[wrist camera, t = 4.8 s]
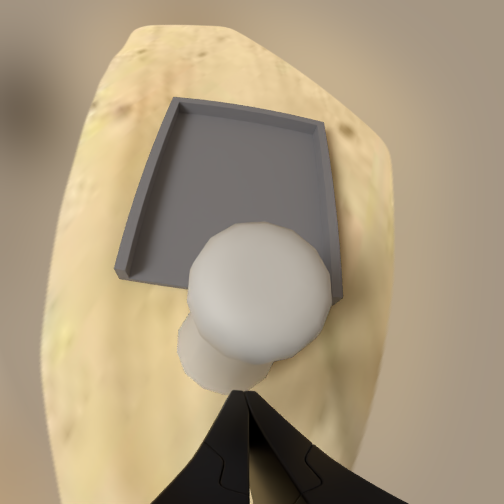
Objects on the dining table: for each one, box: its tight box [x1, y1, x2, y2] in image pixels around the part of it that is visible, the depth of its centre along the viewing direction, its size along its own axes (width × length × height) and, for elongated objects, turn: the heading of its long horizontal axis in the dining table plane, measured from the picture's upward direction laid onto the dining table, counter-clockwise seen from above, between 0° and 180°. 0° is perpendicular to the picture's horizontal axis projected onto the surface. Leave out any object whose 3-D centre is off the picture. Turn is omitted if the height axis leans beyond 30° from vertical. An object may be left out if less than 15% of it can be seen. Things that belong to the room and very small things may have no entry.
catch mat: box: [114, 97, 343, 306], centre depth 25 cm, size 19×16×2 cm
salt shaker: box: [177, 221, 332, 395], centre depth 14 cm, size 6×6×13 cm
